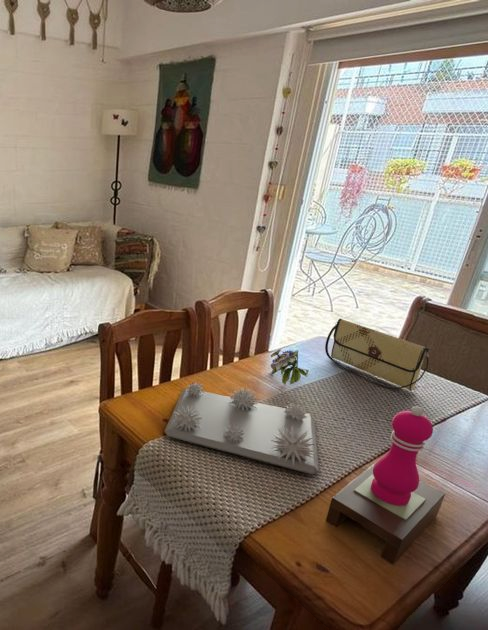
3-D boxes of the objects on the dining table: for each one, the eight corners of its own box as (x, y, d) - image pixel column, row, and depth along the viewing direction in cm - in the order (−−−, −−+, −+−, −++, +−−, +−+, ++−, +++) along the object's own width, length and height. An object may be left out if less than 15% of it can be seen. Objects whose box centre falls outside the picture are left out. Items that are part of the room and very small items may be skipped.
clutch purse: (317, 359, 155) (326, 319, 150) (329, 355, 158) (339, 316, 153) (409, 399, 130) (424, 353, 125) (422, 393, 133) (437, 349, 128)
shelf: (436, 516, 89) (446, 492, 87) (393, 564, 79) (402, 539, 76) (372, 481, 98) (379, 458, 96) (325, 520, 88) (332, 496, 86)
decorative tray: (312, 422, 119) (320, 390, 116) (317, 484, 97) (326, 447, 94) (183, 393, 133) (186, 364, 130) (162, 441, 112) (165, 408, 108)
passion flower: (270, 388, 147) (268, 352, 150) (307, 388, 143) (304, 352, 146) (271, 383, 137) (269, 346, 140) (311, 384, 133) (307, 345, 136)
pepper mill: (364, 494, 86) (391, 407, 79) (371, 476, 91) (397, 392, 84) (409, 514, 82) (442, 423, 74) (414, 493, 86) (445, 406, 79)
